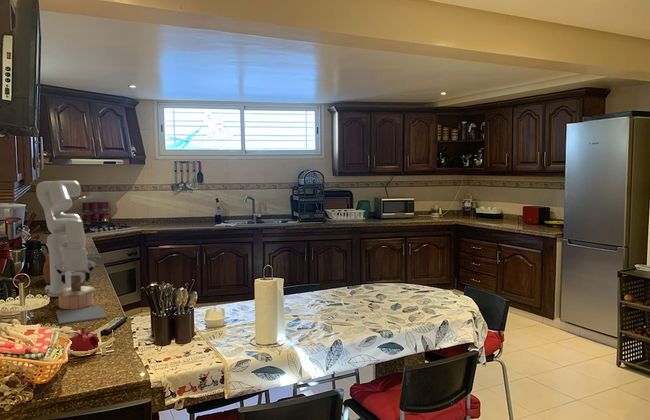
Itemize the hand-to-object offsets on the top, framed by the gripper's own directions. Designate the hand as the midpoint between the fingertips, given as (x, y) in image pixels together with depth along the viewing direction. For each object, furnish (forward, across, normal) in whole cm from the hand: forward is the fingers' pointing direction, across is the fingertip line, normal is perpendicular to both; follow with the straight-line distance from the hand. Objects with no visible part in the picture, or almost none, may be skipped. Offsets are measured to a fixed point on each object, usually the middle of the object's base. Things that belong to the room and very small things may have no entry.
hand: (75, 282), depth 229 cm
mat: (+11, 0, -20) cm, 23 cm away
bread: (+11, -2, +64) cm, 65 cm away
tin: (+11, +2, +45) cm, 46 cm away
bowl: (+11, 0, 0) cm, 11 cm away
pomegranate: (+11, -4, -70) cm, 71 cm away
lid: (+5, 0, 0) cm, 5 cm away
